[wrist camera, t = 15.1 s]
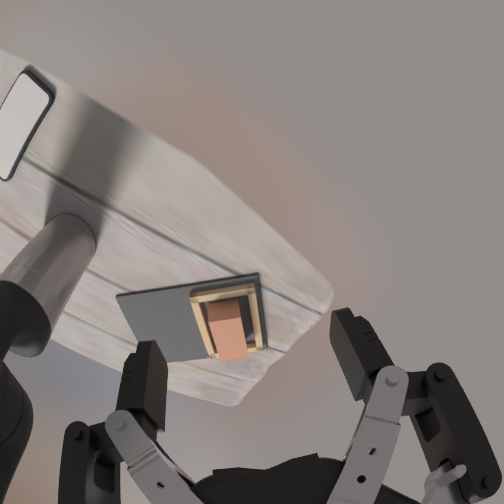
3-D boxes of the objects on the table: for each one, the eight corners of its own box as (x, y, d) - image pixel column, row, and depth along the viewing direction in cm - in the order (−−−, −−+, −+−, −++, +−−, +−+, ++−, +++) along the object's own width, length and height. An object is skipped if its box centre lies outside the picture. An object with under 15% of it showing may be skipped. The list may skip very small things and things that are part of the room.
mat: (150, 362, 53) (150, 368, 52) (116, 295, 44) (113, 301, 42) (266, 347, 54) (268, 353, 53) (257, 273, 45) (259, 279, 44)
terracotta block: (207, 303, 46) (208, 322, 42) (237, 298, 46) (240, 317, 43) (219, 342, 51) (220, 361, 47) (245, 338, 52) (248, 357, 48)
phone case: (28, 67, 23) (-17, 152, 27) (22, 66, 22) (-23, 154, 26) (60, 96, 27) (11, 182, 31) (55, 97, 26) (6, 185, 30)
